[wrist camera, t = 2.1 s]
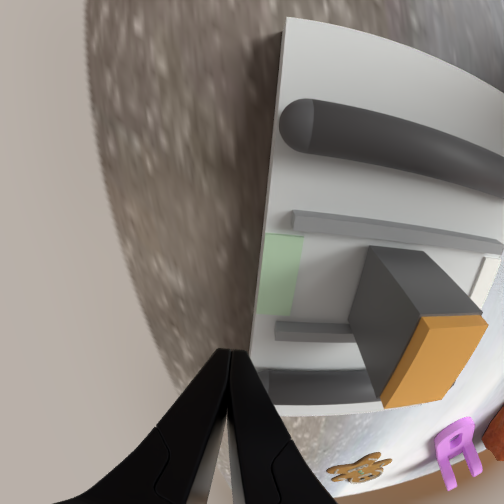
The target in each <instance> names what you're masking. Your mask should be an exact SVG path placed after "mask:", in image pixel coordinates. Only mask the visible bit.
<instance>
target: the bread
mask: <svg viewBox="0 0 504 504" xmlns="http://www.w3.org/2000/svg"><path fill="white" fill-rule="evenodd" d="M482 441H483V443H484V445H485V447H486V448H487V449H488V450H490V451H491V452H492V453H493V454H494V456H495V458H496V460H497V461H504V406H503V407H502V408H501V410H500V411H499V412H498V414H497V415H496V416H495V417H494V419H493V420H492V421H491V422H490V424H489V426H488V428H487V430H486V431H485V433H484V435H483V437H482Z"/></svg>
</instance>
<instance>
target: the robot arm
mask: <svg viewBox="0 0 504 504" xmlns="http://www.w3.org/2000/svg"><path fill="white" fill-rule="evenodd" d="M227 407H228V409H227ZM226 417H227V429H228V444H229V458H230V471H231V484H232V495H233V504H338V503H337V502H336V501H335V500H334V498H333V497H332V496H331V495H330V494H329V492H328V491H327V490H326V489H325V487H324V486H323V485H322V484H321V483H320V481H319V480H318V479H317V477H316V476H315V475H314V473H313V472H312V471H311V469H310V468H309V466H308V465H307V463H306V462H305V460H304V459H303V457H302V455H301V454H300V452H299V450H298V449H297V447H296V445H295V443H294V441H293V440H291V436H290V434H289V432H288V431H287V429H286V427H285V425H284V423H283V421H282V419H281V417H280V416H279V414H278V412H277V410H276V408H275V406H274V404H273V402H272V400H271V398H270V396H269V394H268V392H267V391H266V389H265V387H264V385H263V383H262V381H261V379H260V377H259V375H258V373H257V371H256V369H255V367H254V365H253V363H252V361H251V359H250V357H249V355H248V353H247V351H245V350H236V349H234V350H232V351H231V349H225V348H218V349H216V351H215V352H214V353H213V354H212V356H211V357H210V358H209V360H208V361H207V362H206V363H205V365H204V366H203V367H202V369H201V370H200V371H199V372H198V374H197V375H196V376H195V377H194V379H193V380H192V381H191V383H190V384H189V385H188V386H187V388H186V389H185V390H184V391H183V393H182V394H181V395H180V396H179V398H178V399H177V400H176V401H175V403H174V404H173V405H172V406H171V408H170V409H169V410H168V411H167V413H166V414H165V415H164V416H163V417H162V419H161V420H160V421H159V422H158V424H157V425H156V427H154V428H153V429H152V431H151V432H150V433H149V434H148V436H147V437H146V438H145V439H144V440H143V441H142V442H141V443H140V445H139V446H138V447H137V448H136V449H135V450H134V451H133V452H132V453H131V454H130V455H128V457H126V458H125V459H124V460H123V461H122V462H121V463H120V464H119V465H118V466H116V467H115V468H114V469H113V470H112V471H111V472H109V473H108V474H107V475H106V476H105V477H104V478H102V479H101V480H100V481H99V482H97V483H96V484H95V485H94V486H93V487H91V488H90V489H89V490H87V491H86V492H84V493H82V494H81V495H79V496H76V497H74V498H71V499H68V500H65V501H61V502H57V503H54V504H207V500H208V496H209V492H210V487H211V483H212V479H213V475H214V471H215V466H216V462H217V458H218V453H219V449H220V445H221V440H222V436H223V432H224V427H225V423H226Z"/></svg>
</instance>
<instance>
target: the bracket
mask: <svg viewBox="0 0 504 504" xmlns="http://www.w3.org/2000/svg"><path fill="white" fill-rule="evenodd" d="M474 428H475V424H474V422H473V420H472V418H471V417H464V418H462V419H459V420H457V421H455V422H454V423H452V424H450V425H449V426H447V427H446V428H445V429H443V430H442V431H441V432H440V433H439V434H438V435H437V436H436V437H435V439H434V442H435V449H436V457H437V461H438V464H439V467H440V470H441V473H442V476H443V479H444V482H445V485H446V488H447V490H448V491H449V490H451V489H453V488H455V487H457V483H456V479H455V476H454V474H453V471H452V468H451V465H450V462H449V459H451V458H453V457H455V456H457V455H459V454H460V453H462V452H463V455H464V457H465V460H466V462H467V465H468V467H469V470H470V472H471V474H472V476H473V477H475V476H476V475H478V474H480V473H481V472H482V465H481V462H480V459H479V457H478V454H477V452H476V449H475V447H474V445H473V442H472V438H473V433H474ZM458 434H459V436H458V437H457V438H456V439H455V440H453V441H451V442H450V440H451V439H452V438H453V437H454V436H456V435H458Z"/></svg>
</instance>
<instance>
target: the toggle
mask: <svg viewBox="0 0 504 504" xmlns="http://www.w3.org/2000/svg"><path fill="white" fill-rule="evenodd" d="M482 313H483V312H482V311H481V310H480V308H479V307H478V306H477V305H476V304H475V303H474V302H473V301H472V300H471V299H470V297H469V296H468V295H467V294H466V293H465V292H464V291H463V290H462V289H461V288H460V287H459V286H458V285H457V284H456V283H455V282H454V281H453V279H452V278H451V277H450V276H449V275H448V274H447V273H446V272H445V271H444V270H443V269H442V268H441V267H440V266H439V265H438V264H437V263H436V262H435V261H433V260H432V259H431V258H430V257H429V256H428V255H427V254H426V253H425V252H424V251H419V250H410V249H401V248H392V247H382V246H373V245H369V247H368V251H367V254H366V258H365V262H364V266H363V269H362V273H361V277H360V280H359V284H358V287H357V290H356V294H355V297H354V300H353V304H352V307H351V310H350V313H349V316H348V319H347V320H348V322H349V325H350V327H351V330H352V333H353V335H354V338H355V340H356V343H357V346H358V348H359V351H360V354H361V356H362V359H363V362H364V364H365V367H366V370H367V373H368V376H369V378H370V381H371V384H372V387H373V390H374V393H375V396H376V399H379V398H380V399H381V402H382V405H383V408H384V409H389V408H396V407H403V406H410V405H416V404H421V403H427V402H432V401H437V400H442V398H443V397H444V396H445V394H446V393H447V391H448V390H449V389H450V387H451V386H452V384H453V383H454V382H455V380H456V379H457V377H458V376H459V374H460V373H461V371H462V370H463V368H464V366H465V365H466V363H467V362H468V360H469V359H470V357H471V355H472V354H473V352H474V350H475V349H476V347H477V345H478V343H479V342H480V340H481V338H482V336H483V334H484V333H485V331H486V329H487V327H488V324H487V322H486V321H485V320H484V319H483V318H482V316H481V315H482Z"/></svg>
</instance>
